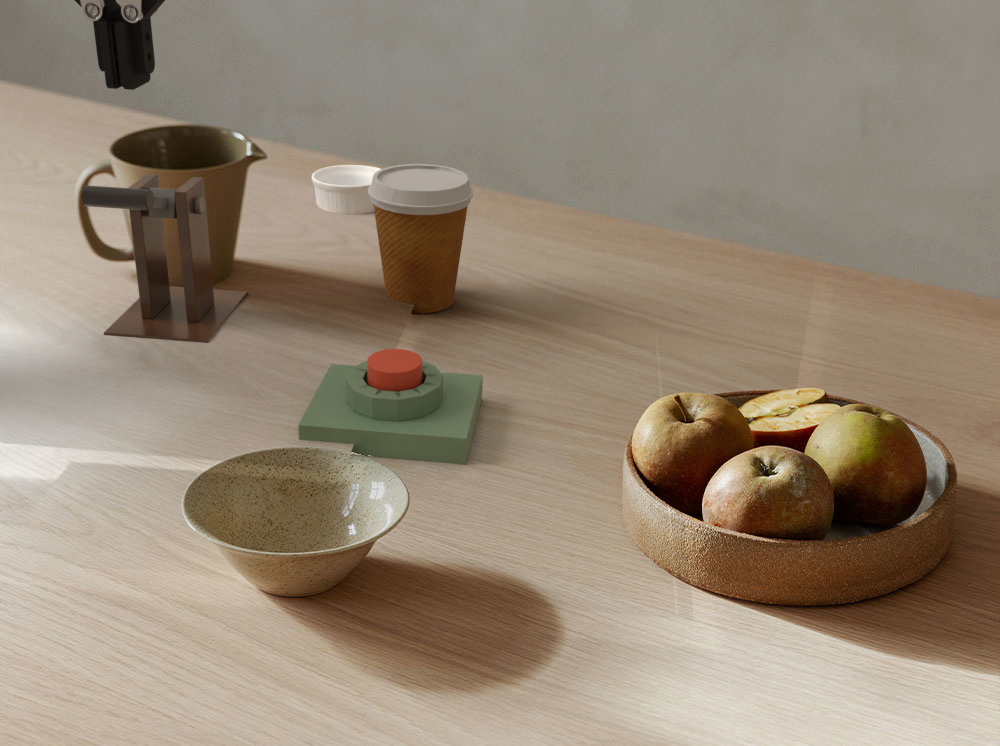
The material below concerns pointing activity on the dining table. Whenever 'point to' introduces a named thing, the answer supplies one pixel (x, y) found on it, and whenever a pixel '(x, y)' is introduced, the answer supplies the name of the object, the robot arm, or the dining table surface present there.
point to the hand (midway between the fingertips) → (129, 84)
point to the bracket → (197, 303)
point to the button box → (396, 415)
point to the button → (394, 370)
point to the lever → (132, 199)
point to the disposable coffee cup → (420, 231)
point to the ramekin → (344, 188)
